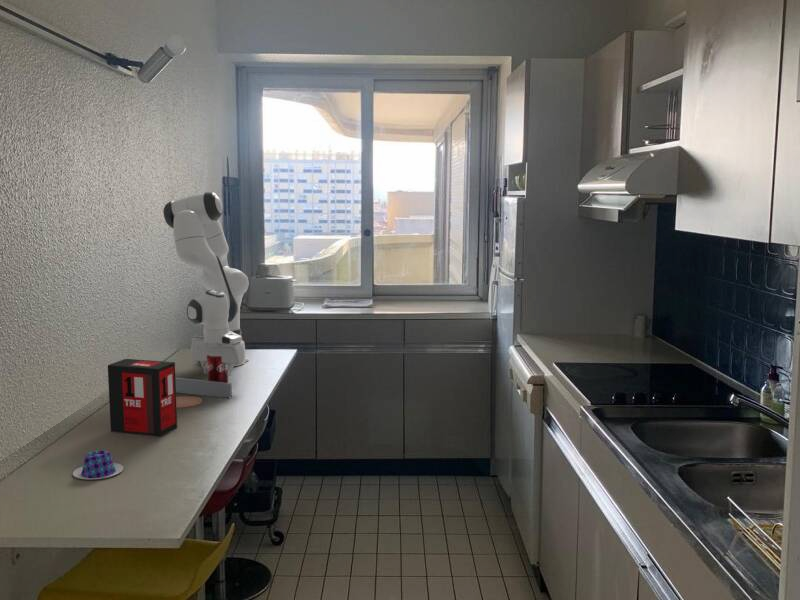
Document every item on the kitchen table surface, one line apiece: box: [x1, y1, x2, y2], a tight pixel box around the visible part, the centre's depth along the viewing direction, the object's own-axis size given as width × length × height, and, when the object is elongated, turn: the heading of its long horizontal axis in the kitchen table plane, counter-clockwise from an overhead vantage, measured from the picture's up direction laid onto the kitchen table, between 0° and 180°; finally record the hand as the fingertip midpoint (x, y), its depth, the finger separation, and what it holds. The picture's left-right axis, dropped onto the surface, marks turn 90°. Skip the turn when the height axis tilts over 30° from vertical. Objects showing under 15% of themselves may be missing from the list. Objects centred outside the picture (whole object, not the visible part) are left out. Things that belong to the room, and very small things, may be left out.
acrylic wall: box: [175, 376, 233, 398], centre depth 278 cm, size 24×1×5 cm, turn 70°
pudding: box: [72, 450, 124, 480], centre depth 204 cm, size 12×12×5 cm
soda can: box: [206, 355, 229, 383], centre depth 288 cm, size 7×7×12 cm
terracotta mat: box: [176, 395, 203, 409], centre depth 269 cm, size 13×13×1 cm
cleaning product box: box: [107, 358, 178, 438], centre depth 238 cm, size 16×9×20 cm, turn 74°
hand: (217, 374), depth 288 cm, fingers closed on soda can, 7 cm apart
